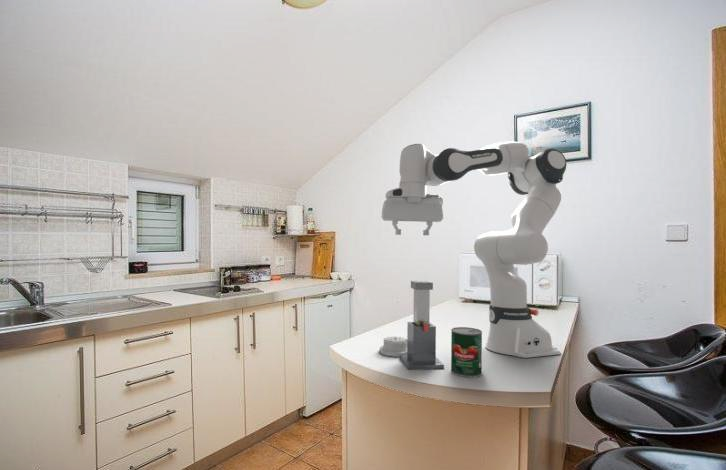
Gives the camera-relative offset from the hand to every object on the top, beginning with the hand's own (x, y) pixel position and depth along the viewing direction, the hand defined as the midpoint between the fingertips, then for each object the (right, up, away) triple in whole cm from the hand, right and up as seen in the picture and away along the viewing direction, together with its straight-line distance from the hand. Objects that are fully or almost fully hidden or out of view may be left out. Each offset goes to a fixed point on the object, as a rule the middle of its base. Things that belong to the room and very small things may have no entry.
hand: (412, 235), depth 115 cm
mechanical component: (-6, -37, -5) cm, 38 cm away
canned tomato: (+11, -37, -22) cm, 44 cm away
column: (0, -30, -15) cm, 34 cm away
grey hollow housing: (0, -37, -15) cm, 40 cm away
